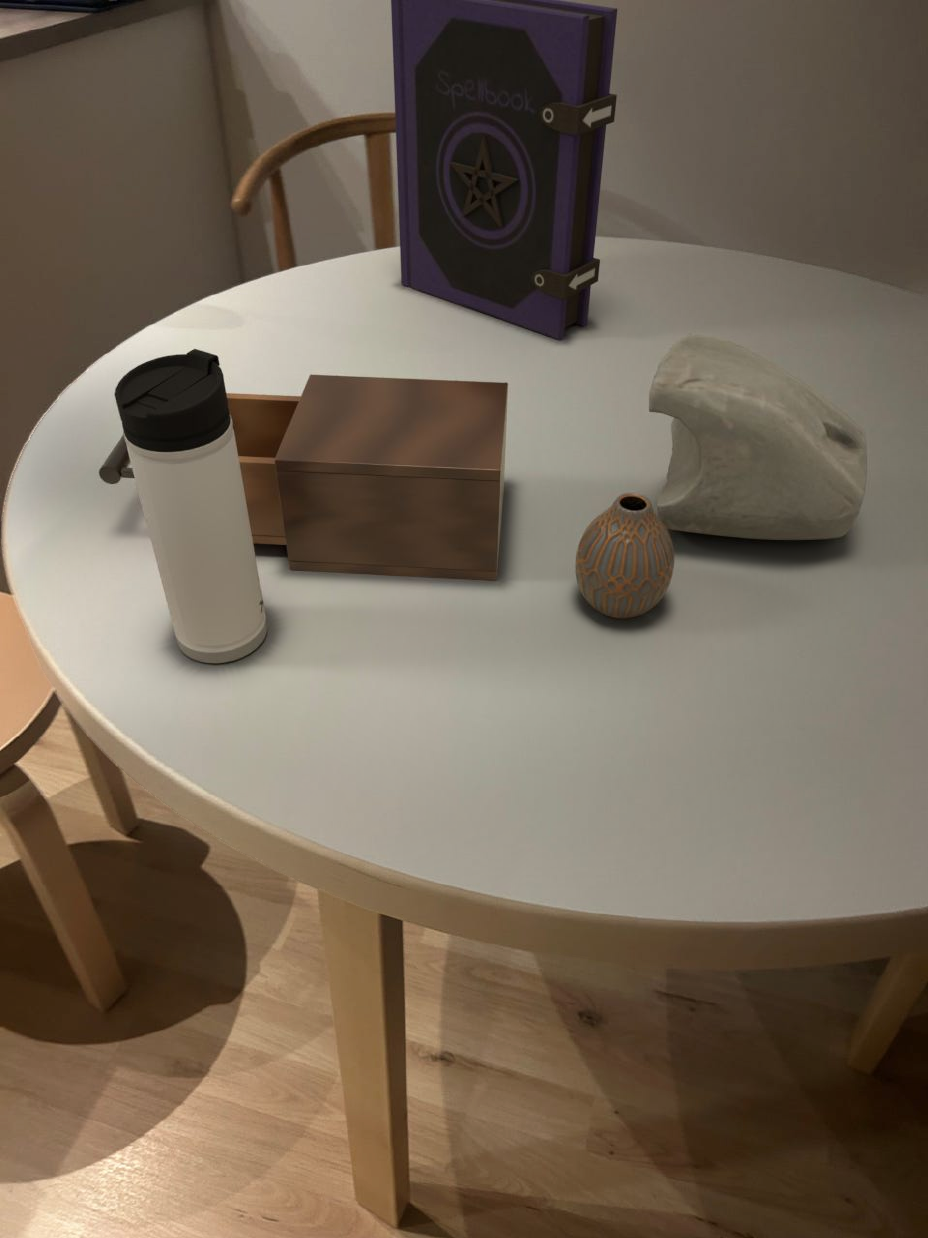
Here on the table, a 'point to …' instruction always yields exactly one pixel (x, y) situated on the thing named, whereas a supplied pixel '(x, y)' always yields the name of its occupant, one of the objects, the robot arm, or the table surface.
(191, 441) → the travel mug
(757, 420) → the decorative stone
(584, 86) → the book
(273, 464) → the drawer
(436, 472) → the cabinet
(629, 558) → the vase
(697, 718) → the table surface
